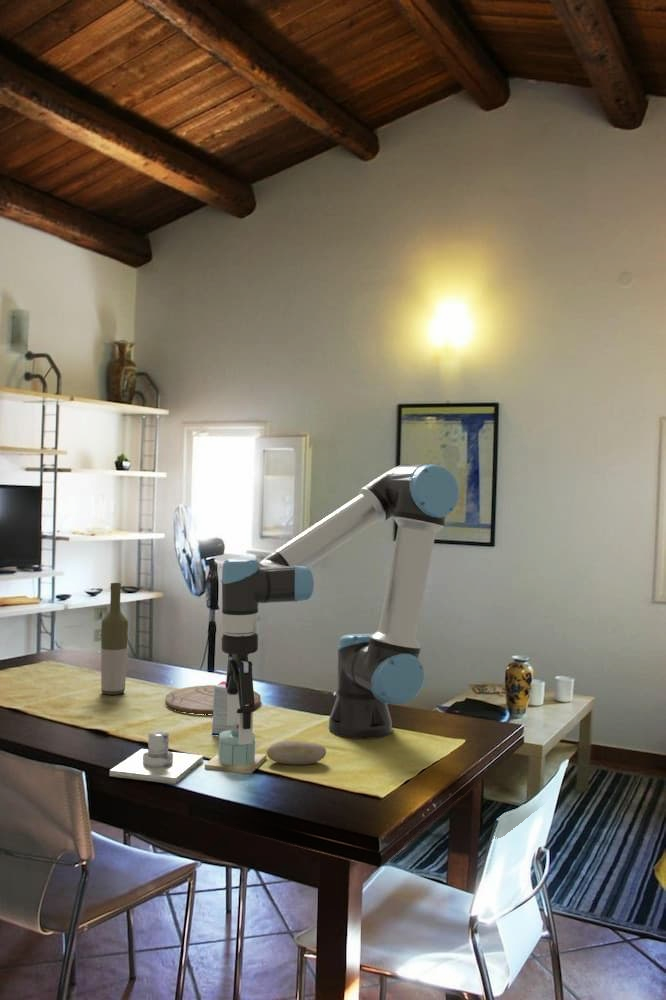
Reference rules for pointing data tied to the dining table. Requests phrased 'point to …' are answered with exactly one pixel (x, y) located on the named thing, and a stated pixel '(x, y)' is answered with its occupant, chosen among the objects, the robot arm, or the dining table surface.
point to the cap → (234, 749)
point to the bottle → (114, 646)
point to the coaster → (247, 768)
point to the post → (157, 762)
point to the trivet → (197, 699)
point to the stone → (296, 752)
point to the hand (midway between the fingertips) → (239, 733)
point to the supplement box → (220, 710)
